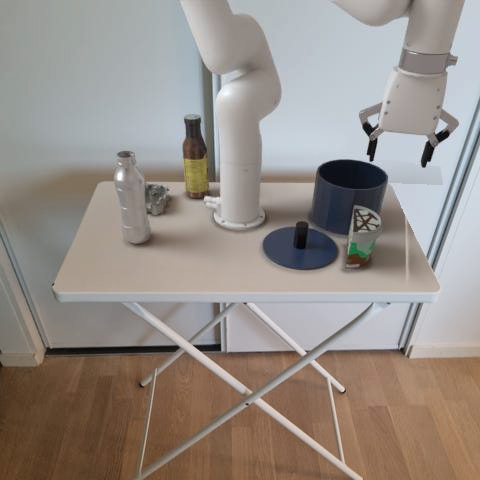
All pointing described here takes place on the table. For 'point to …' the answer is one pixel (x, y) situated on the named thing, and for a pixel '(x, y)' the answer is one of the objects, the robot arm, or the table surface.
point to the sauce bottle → (195, 158)
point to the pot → (346, 192)
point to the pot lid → (299, 247)
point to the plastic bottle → (132, 198)
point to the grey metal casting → (155, 198)
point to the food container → (362, 236)
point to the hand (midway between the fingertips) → (396, 161)
